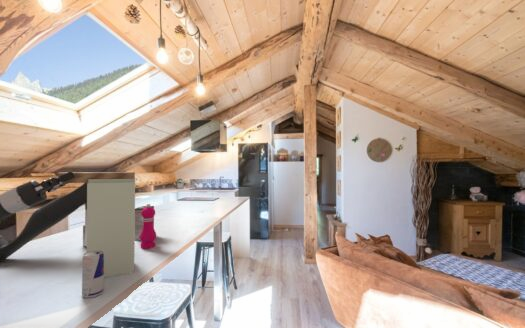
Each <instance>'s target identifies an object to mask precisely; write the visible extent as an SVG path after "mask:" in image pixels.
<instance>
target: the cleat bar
mask: <svg viewBox="0 0 525 328" xmlns="http://www.w3.org/2000/svg"><path fill="white" fill-rule="evenodd" d="M68 172H69V171H67V172H57V173H56V177H58V176H61V175H64V174H66V173H68ZM72 172H73V171H72ZM73 173H74V175H75V178H72V179H70V180H68V181H65V182H63V181H62V183H68V184H84V183H88V179H134V182H135V183H136V174H135V173H136V172H135V171H120V172H119V171H118V172H117V171H110V172H109V171H106V172H105V171H104V172H102V171H100V172H99V171H96V172H95V171H94V172H93V171H92V172H89V171H87V172H82V171H79V172H77V171H75V172H73Z"/></svg>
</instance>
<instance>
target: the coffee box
mask: <svg viewBox="0 0 525 328" xmlns="http://www.w3.org/2000/svg"><path fill="white" fill-rule="evenodd" d="M150 207H152V208H154V209H155V205H150ZM144 208H146V205H142V206H139V207H135V241H140V234H141V232H142V229H143V221H142V220H143V219H142V218H143V216H142V215H141V212H142V210H143V209H144ZM153 217H154V218H155V215H154V216H153ZM153 227H154V228H155V220H154V221H153Z"/></svg>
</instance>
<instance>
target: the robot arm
mask: <svg viewBox="0 0 525 328" xmlns="http://www.w3.org/2000/svg"><path fill="white" fill-rule="evenodd" d="M67 172H68V173H66V174H64V175H61V176H58V177H57V176H54V177H51V178H48V179H45V180H43V181H41V182H40V183H39V182H38V181H37V180H30V181H28V182H25V183H23V184H20V185H17V186H15V187H12V188H10V189H9V190H7V191H5V192H3V193H0V220H2V219H4V218H7V217H8V216H11V215H13V214H16V213H19V212H21V211H24V210H27V209H29V208H31V207H33V206H35V205H38V204H40V203H43V202H44V201H46V200H47V198H48V195H47V193H51V192H54V191H56V190H57V189H60V188H63V187H65V186H66V185H68V184H69V183H62V181H63V182H65V181H68V180H70V179H72V178H75V175H74V173H73V171H67ZM76 172H80V171H79V170H77V171H76ZM83 205H84V207H85V209H84V211H85V212H84V225H83V226H82V246H83V247H86V248H87V183H82V184H81V185H80V186H79V187H77V188H76V189H74V190H73V191H70V192H69V193H67V194H65V195H62V196H59V197H58V198H56V199H55V198H54V199H53V200H51V201H50V202H47V203H46V204H44V205H43V206H41V207H40V208H38V209H36V210H35V211H34V212H33V213H32V214H31V215H30V217H29V219H28V220H27V222H26V223H25V225H24V227H23V229H22V231H21V232H20V233H19V234H18V235H17V237H15V238H14V239H13V240H12V241H10V242H8V241H7V240H6V239H5V237H3V236H2V235H1V234H0V263H2V262H3V261H5V260H6V259H8V258H9V257H10V256H12V255H14V253H16V252H17V251H18V250H20V249H22V247H24V246H25V245H27V244H28V243H29V242H30V241H32V240H34V239H35V238H37V237H38V236H39V235H41V234H43V233H44V232H46V231H47V230H49V229H50V228H53V226H55V225H56V224H58V223H60V222H61V221H63V220H64V219H66V218H67V217H69V216H70V215H72V213H74V212H75V211H77V210H78V209H79V208H81V207H82V206H83Z"/></svg>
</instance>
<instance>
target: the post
mask: <svg viewBox="0 0 525 328" xmlns="http://www.w3.org/2000/svg"><path fill="white" fill-rule="evenodd" d="M135 209H136V181H135V182H134V179H88V183H87V247H86V253H87V252H91V251H103V254H104V278H106V277H113V276H119V275H124V274H125V275H126V274H133V273H134V271H135V270H134V269H135V255H136V253H135V250H136V249H135V247H136V246H135V241H136V240H135Z"/></svg>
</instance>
